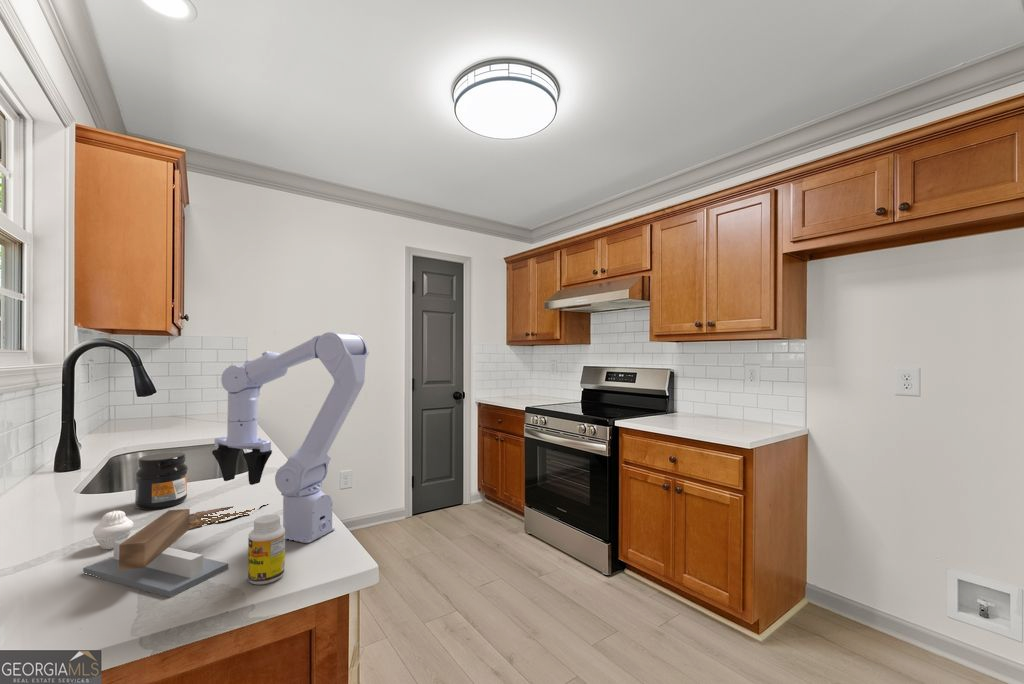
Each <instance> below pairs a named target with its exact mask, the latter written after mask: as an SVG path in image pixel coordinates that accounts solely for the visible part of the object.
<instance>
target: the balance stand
mask: <svg viewBox="0 0 1024 684" xmlns="http://www.w3.org/2000/svg"><path fill="white" fill-rule="evenodd" d="M128 538H129V537H128ZM128 538H125V539H122V540H119V541H116V542H114V548H113V556H112V557H108V558H106V559H103V560H100V561H97V562H96V563H92V564H90V565H87V566H84V567H82V573H83V572H84V573H87V574H91V575H94V576H97V577H96V578H98V577H100V578H99V579H101V578H102V580H106V581H109V582H112V583H115V584H116V583H117V584H120V585H122V586H123V585H124V586H127V587H130V588H134V589H137V590H141V591H145V592H149V593H152V594H156V595H160V596H163V597H166V598H172V597H174V596H175V595H179V594H180V593H182V592H183V591H186V590H188V589H190V588H192V587H195V586H196V585H198V584H200V583H202V582H205V581H207V580H208V579H210V578H213V577H215V576H217V575H218V574H221V573H223V572H225V571H227V570H228V569H229V563H228V562H223V561H219V560H215V559H210V558H206V557H203V554H200V553H195V552H191V551H186V550H183V549H179V548H173V547H170V546H169V547H168V548H167V549H166V550H165V551H163V552H162V553H161V554H160V555H159V556H158V557H156V558H155V559H154V560H153V561H152V562H151V563H149V564H148V565H147V566H146V567H145V568H136V569H125V570H119V545H120V544H121V543H123V542H124V541H126V540H127V539H128ZM87 574H86V575H87ZM94 576H93V577H94Z"/></svg>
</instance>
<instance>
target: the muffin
mask: <svg viewBox="0 0 1024 684" xmlns="http://www.w3.org/2000/svg"><path fill="white" fill-rule="evenodd" d="M133 528H134V521H133V520H131V519H129V517H127V516H126V512H125V511H122V510H112V511H108V512H106V513H105V514H103V516H102V518H101V520H100V521H99V522H98V524H97V525H96V526H95V527H94V528H93V530H92V535H93V537H94V539H95V541H96V542H97V543H98V544H99V546H100V547H101V548H102V549H103V550H114V542H116V541H119V540H122V539H125V538H129V536H130V535H131V533H132V529H133Z"/></svg>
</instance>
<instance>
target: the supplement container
mask: <svg viewBox="0 0 1024 684" xmlns="http://www.w3.org/2000/svg"><path fill="white" fill-rule="evenodd" d="M185 462H186V453H184V452H181V451H169V452H168V451H167V452H159V453H151V454H147V455H143V456H141V457H139V458H138V459H137V467H138V469H137V470H136V471H135V474H134V477H135V495H134V496H135V500H134V505H135V507H136V508H138V509H139V510H144V511H147V510H148V511H153V510H160V509H165V508H166V509H167V508H171V507H174V506H177V505H179V504H181V503H183V502H184V501H185V500H186V499H187V497H188V492H187V491H188V488H187V487H188V470H189V469H188V465H187V464H186V463H185Z"/></svg>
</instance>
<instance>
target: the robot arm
mask: <svg viewBox="0 0 1024 684" xmlns="http://www.w3.org/2000/svg"><path fill="white" fill-rule="evenodd" d="M369 354H370V352H369V349H368V346H367V343H366V341H365V339H364V338H363V337H362V336H361V335H359V334H358V333H337V332H333V331H331V332H330V331H328V332H325V333H323V334H321V335H316V336H313V337H312V338H311V339H309V340H307V341H305V342H303V343H300V344H298V345H296V346H294V347H293V348H290V349H288V350H286V351H284V352H282V353H279V352H275V351H267V350H266V351H264V352H262V353H261V356H260V357H257V358H255V359H248V360H245V361H244V363H243V364H242V365H236V364H235V365H232V364H231V365H229V366H228V367H226V368H225V370H224V371H223V372H222V374H221V378H220V379H221V380H220V381H221V385H222V388H223V389H224V390H225V391H226V392H227V421H226V422H227V423H226V425H227V427H226V428H227V430H226V431H227V433H226V435H227V436H220V437H215V438H214V447H215V448H217V449H214V450H212V451H211V452H212V453H211V454H212V455H213V457H214V458H215V460H216V462H217V463H218V465H219V469H220V472H221V476H222V479H223V481H224V482H228V481H231V480H234V479H235V477H236V472H237V463H238V457H239V454H240V451H241V450H249V451H248V452H244V453H243V458H244V460H245V462H246V466H247V467H246V468H247V471H248V472H247V474H248V475H247V476H248V483H249V486H250V485H251V486H253V485H256V484H259V483H261V479H262V475H263V472H264V469H265V467H266V464H267V462H268V460H269V458H271V457H270V456H271V455H272V454H273V450H272V441H269V440H265V439H262V438H261V436H258V405H259V404H258V403H259V402H258V401H259V400H258V399H259V396H260V395H261V394H260V393H261V389H262V387H263V385H265V384H268V383H270V382H272V381H275V380H278V379H279V378H282V377H284V376H285V375H287V372H288V369H289V368H291V367H295V366H297V365H301V364H302V363H306V362H308V361H311V360H314V359H319V360H320V362H321V363H322V365H323V366H324V367H325V369H326V370H327V371H328V373H329V374H330V376H331V377H332V378H333V381H334V383H332V387H331V388H330V390H329V393H328V394H327V396H326V398H325V400H324V402H323V404H322V405H321V408H320V410H319V411H318V414H317V416H315V419H314V421H313V423H312V425H311V427H310V429H309V431H308V433H307V435H306V436H305V439H304V440H303V442H302V445H301V446H300V447H299V448H297V449H296V450H295V451H294V452H293V453H292V454H291V455H290V456H289V457H288V459H287V461H286V462H285V463H284V464H283V465H281V466H280V467H279V468H278V469H277V471H276V472H275V474H274V475H275V476H274V483H275V486H276V488H277V490H278V491H279V492H280V495H281V496H283V497H282V526H283V527H284V528H285V540H287V539H289V540H288V541H292V540H294V541H293V542H298V541H299V543H304V544H309V543H311V542H313V541H315V540H317V539H319V538H321V537H323V536H324V535H327V534H328V533H330V532H332V531H334V530H335V529H336V527H335V526H333V499H332V498H331V496H330V495H329V494H327V493H324V492H323V491H322V489H321V487H322V486H323V481H324V480H325V479H326V478H327V475H328V470H329V464H330V461H331V459H332V458H331V456H330V454H329V451H330V449H331V447H332V445H333V443H334V441H335V440H336V438H337V435H338V434H339V432H340V430H341V428H342V426H343V424H344V422H345V421H346V419H347V417H348V415H349V413H350V411H351V409H352V407H353V406H354V404H355V401H356V400H357V398H358V395H360V393H361V390H362V389H363V386H364V385H365V379H366V376H365V375H366V362H367V361H366V360H367V358H368V356H369ZM250 450H251V451H250Z"/></svg>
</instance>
